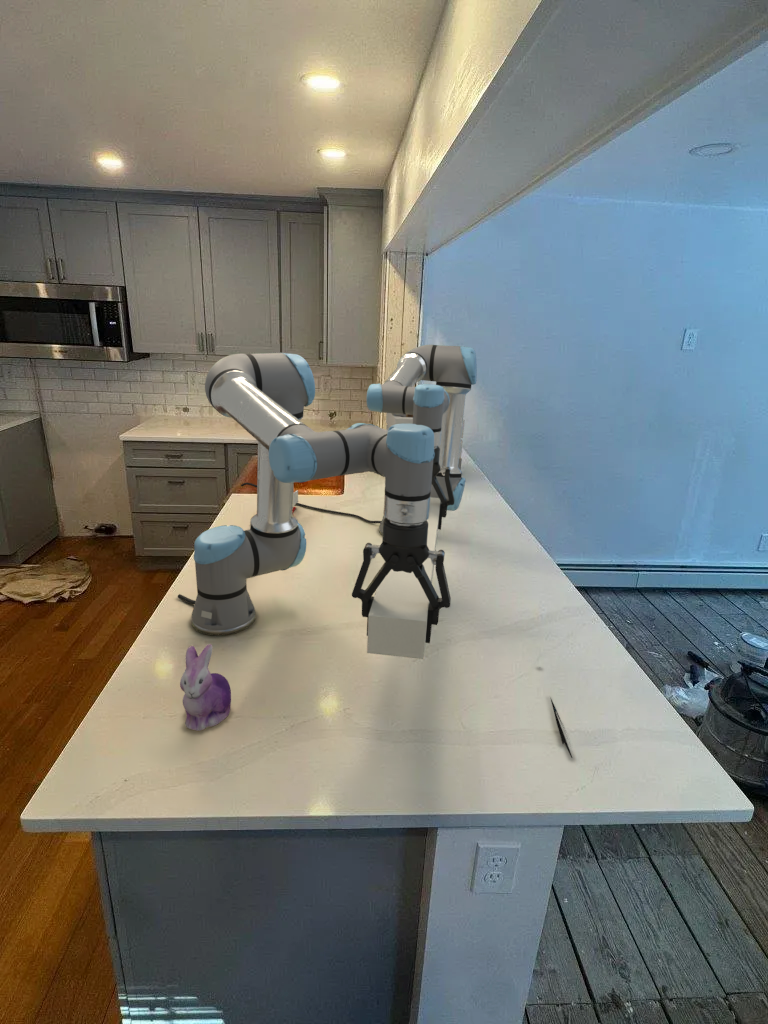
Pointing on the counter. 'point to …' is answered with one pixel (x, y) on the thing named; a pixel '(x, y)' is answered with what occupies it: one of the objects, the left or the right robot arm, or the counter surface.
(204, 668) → the figurine
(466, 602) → the counter surface
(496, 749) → the counter surface
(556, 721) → the feather
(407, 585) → the thick board
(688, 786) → the counter surface
